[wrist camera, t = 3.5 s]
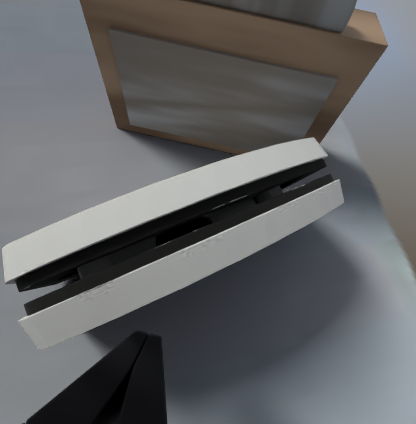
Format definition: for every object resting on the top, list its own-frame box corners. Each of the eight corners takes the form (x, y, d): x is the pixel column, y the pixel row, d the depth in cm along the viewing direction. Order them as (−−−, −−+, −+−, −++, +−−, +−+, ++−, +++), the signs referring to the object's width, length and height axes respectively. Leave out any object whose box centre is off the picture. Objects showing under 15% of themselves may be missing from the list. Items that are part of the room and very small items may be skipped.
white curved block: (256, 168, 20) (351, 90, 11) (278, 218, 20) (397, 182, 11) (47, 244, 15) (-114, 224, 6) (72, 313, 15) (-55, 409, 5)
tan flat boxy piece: (301, 171, 21) (412, 15, 11) (115, 130, 21) (57, -62, 11) (301, 138, 23) (394, -18, 13) (132, 100, 23) (97, -82, 13)
